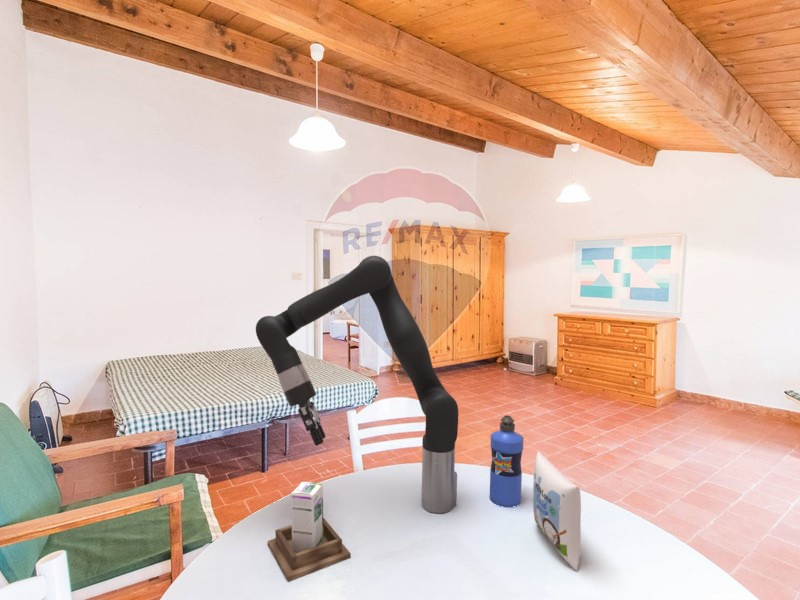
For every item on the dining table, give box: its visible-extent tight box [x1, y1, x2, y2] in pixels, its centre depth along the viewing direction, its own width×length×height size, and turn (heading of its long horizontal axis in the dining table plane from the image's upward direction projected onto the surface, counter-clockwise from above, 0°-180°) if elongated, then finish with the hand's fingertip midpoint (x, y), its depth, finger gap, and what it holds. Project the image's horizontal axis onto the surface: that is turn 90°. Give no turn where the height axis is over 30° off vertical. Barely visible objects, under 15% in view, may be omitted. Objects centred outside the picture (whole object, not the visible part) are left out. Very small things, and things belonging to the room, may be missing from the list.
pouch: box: [532, 451, 582, 572], centre depth 108 cm, size 8×19×20 cm, turn 5°
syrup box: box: [290, 481, 324, 552], centre depth 105 cm, size 6×6×14 cm
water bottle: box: [489, 415, 524, 508], centre depth 129 cm, size 9×9×25 cm
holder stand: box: [267, 517, 352, 583], centre depth 105 cm, size 15×15×4 cm
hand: (321, 441), depth 116 cm, fingers open, 8 cm apart
